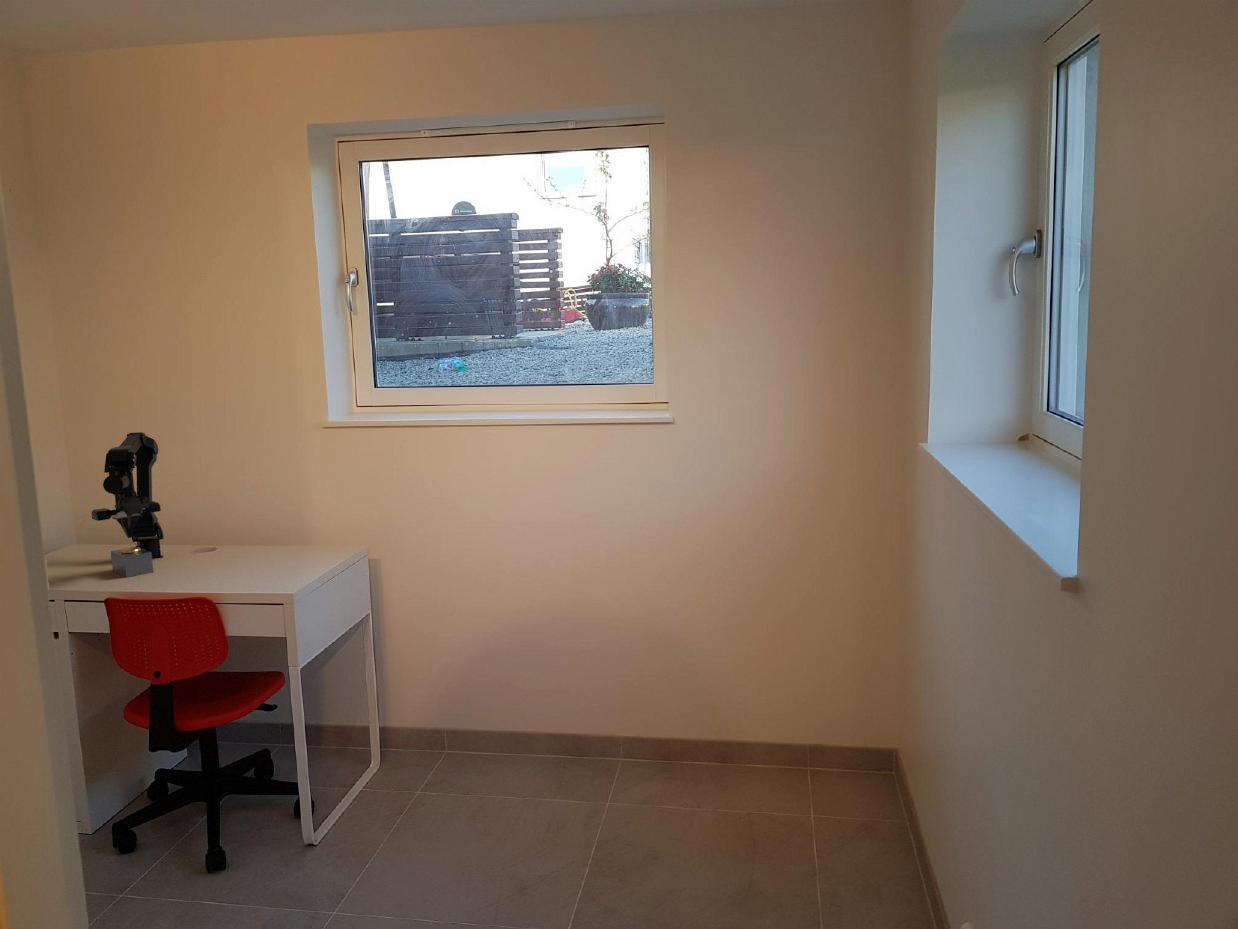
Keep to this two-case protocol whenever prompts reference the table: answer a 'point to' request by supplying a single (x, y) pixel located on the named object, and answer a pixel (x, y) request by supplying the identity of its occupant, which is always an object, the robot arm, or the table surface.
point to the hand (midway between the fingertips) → (129, 537)
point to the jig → (132, 563)
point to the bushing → (130, 550)
